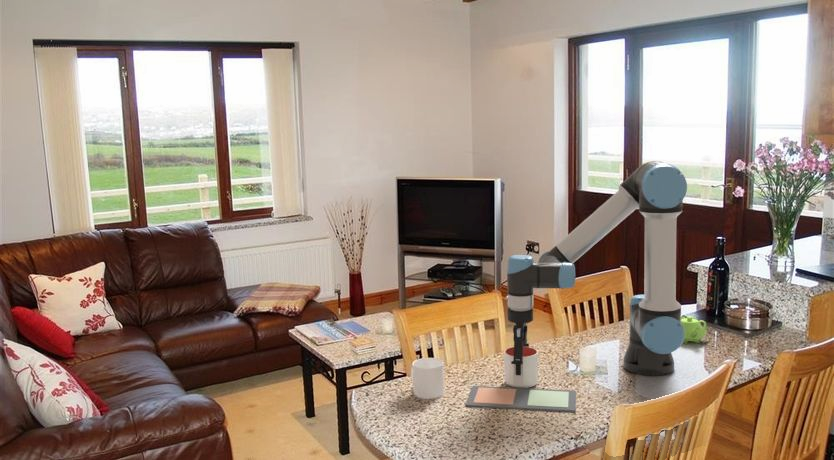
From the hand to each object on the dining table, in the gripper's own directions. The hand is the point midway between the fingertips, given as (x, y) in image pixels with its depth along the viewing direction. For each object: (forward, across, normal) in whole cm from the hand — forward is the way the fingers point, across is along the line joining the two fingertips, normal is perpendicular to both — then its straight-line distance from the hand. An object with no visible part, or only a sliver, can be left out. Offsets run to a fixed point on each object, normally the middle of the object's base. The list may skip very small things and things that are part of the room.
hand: (520, 376), depth 218 cm
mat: (+2, +12, +1) cm, 12 cm away
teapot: (+2, -46, +53) cm, 70 cm away
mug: (+3, +10, -27) cm, 29 cm away
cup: (+2, 0, 0) cm, 2 cm away
